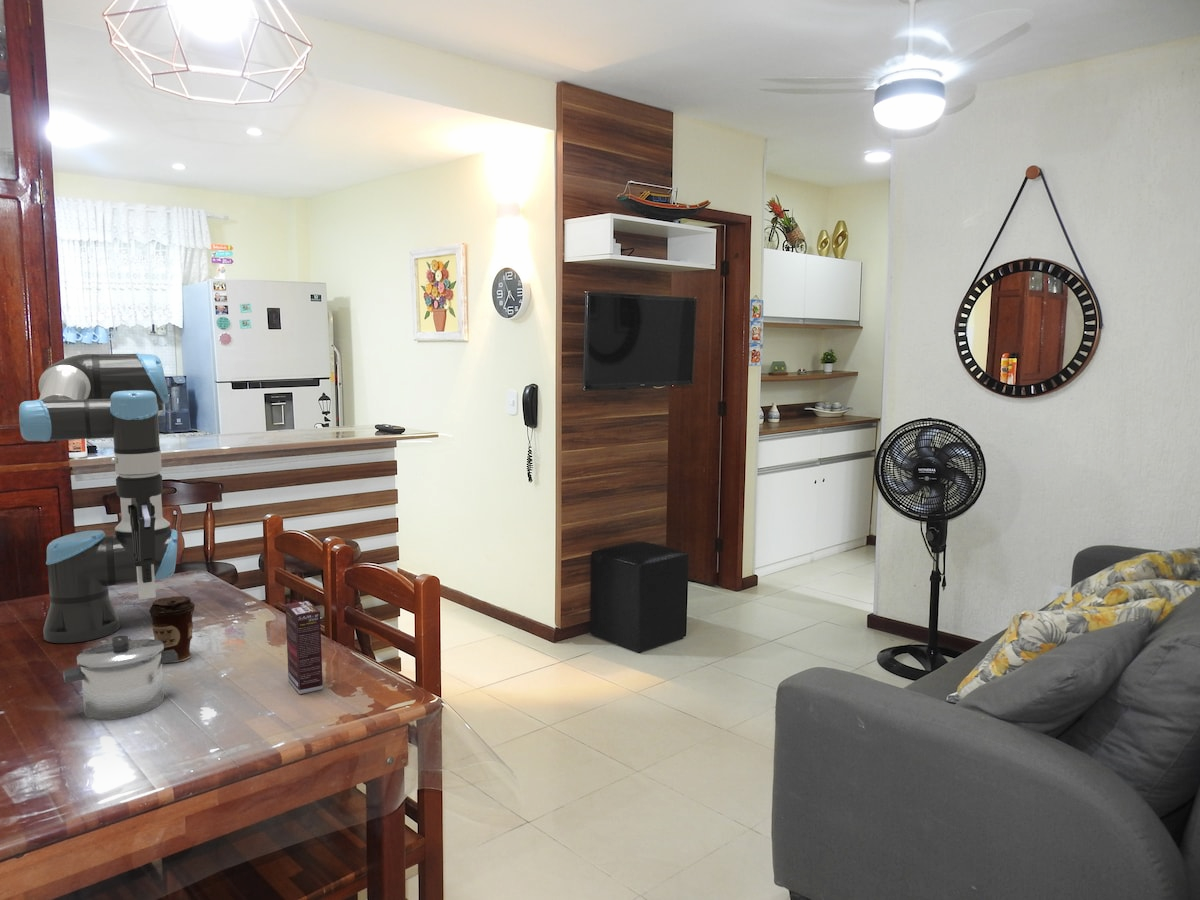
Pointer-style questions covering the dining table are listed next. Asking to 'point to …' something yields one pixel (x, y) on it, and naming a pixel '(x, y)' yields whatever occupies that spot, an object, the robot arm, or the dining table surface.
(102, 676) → the pot
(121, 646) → the lid
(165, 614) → the coffee cup
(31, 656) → the dining table surface
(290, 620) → the supplement box
